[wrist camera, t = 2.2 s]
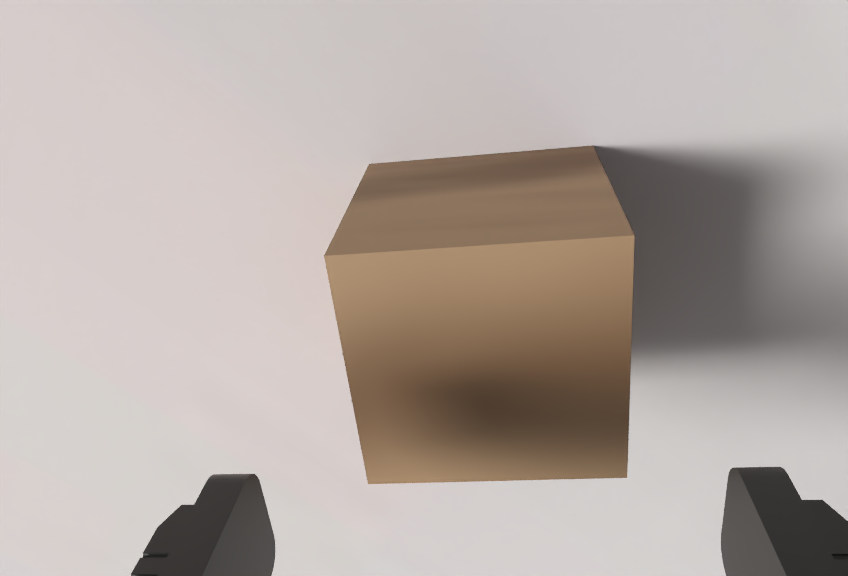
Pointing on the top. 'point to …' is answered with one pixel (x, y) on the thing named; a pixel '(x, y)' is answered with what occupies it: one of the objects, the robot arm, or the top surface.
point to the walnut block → (487, 317)
